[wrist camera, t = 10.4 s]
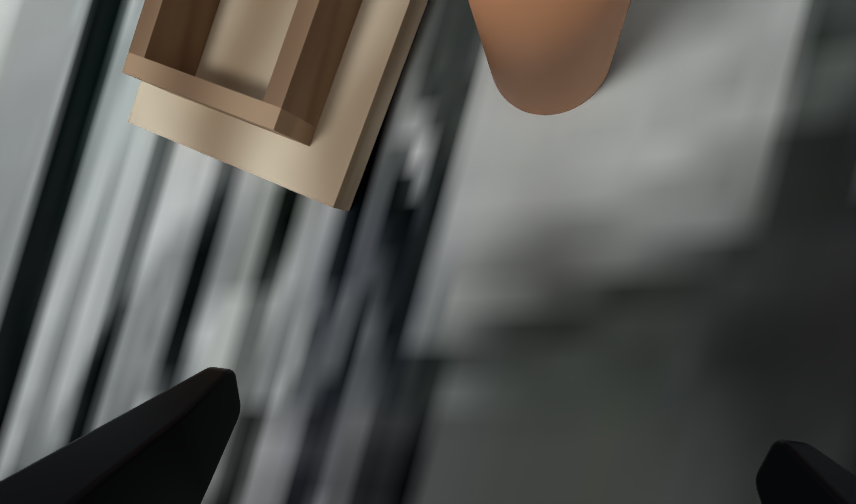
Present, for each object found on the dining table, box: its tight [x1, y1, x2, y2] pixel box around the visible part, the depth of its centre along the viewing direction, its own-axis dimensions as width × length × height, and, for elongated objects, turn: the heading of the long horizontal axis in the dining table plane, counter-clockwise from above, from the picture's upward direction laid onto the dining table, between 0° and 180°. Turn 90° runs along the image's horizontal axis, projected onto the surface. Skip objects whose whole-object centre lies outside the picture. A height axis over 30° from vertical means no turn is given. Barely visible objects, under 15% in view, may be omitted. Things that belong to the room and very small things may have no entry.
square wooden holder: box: [122, 0, 428, 211], centre depth 19 cm, size 11×11×4 cm
